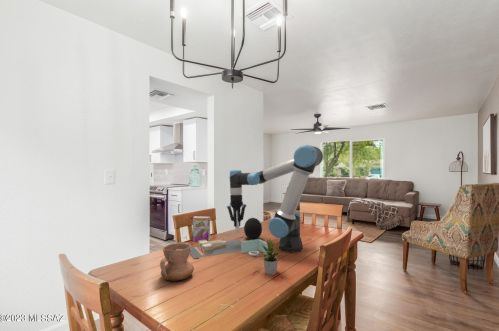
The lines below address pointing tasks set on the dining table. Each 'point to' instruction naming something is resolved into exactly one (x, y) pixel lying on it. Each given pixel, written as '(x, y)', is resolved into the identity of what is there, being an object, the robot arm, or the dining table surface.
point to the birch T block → (211, 245)
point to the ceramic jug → (176, 262)
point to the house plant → (270, 257)
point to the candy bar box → (201, 228)
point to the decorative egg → (253, 228)
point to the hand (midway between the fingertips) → (237, 231)
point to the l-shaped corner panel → (253, 247)
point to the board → (230, 247)
